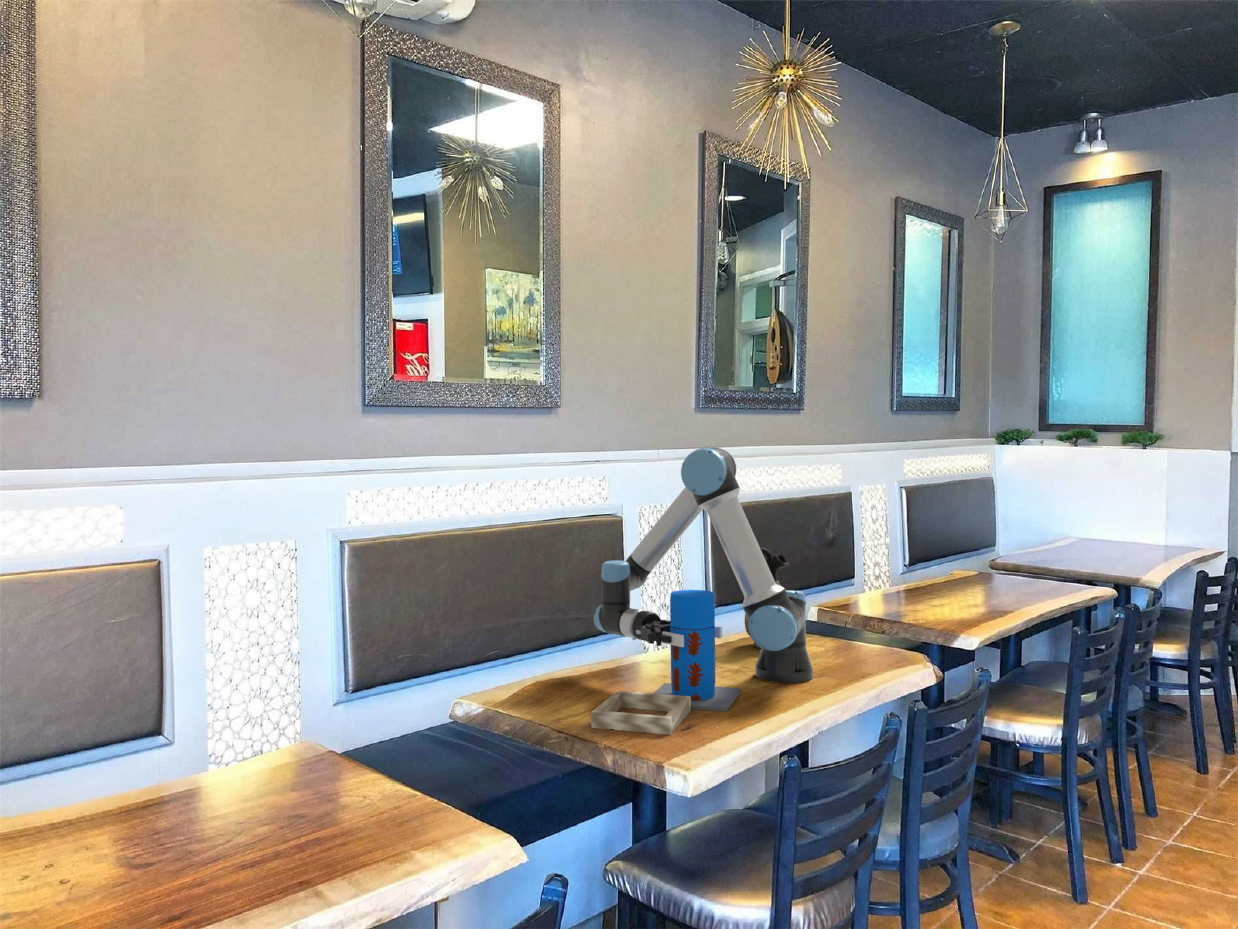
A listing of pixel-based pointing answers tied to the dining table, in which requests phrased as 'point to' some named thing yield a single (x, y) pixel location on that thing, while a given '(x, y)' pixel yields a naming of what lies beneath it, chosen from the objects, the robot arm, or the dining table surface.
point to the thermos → (693, 644)
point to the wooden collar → (611, 719)
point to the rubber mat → (717, 703)
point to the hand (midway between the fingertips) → (702, 636)
